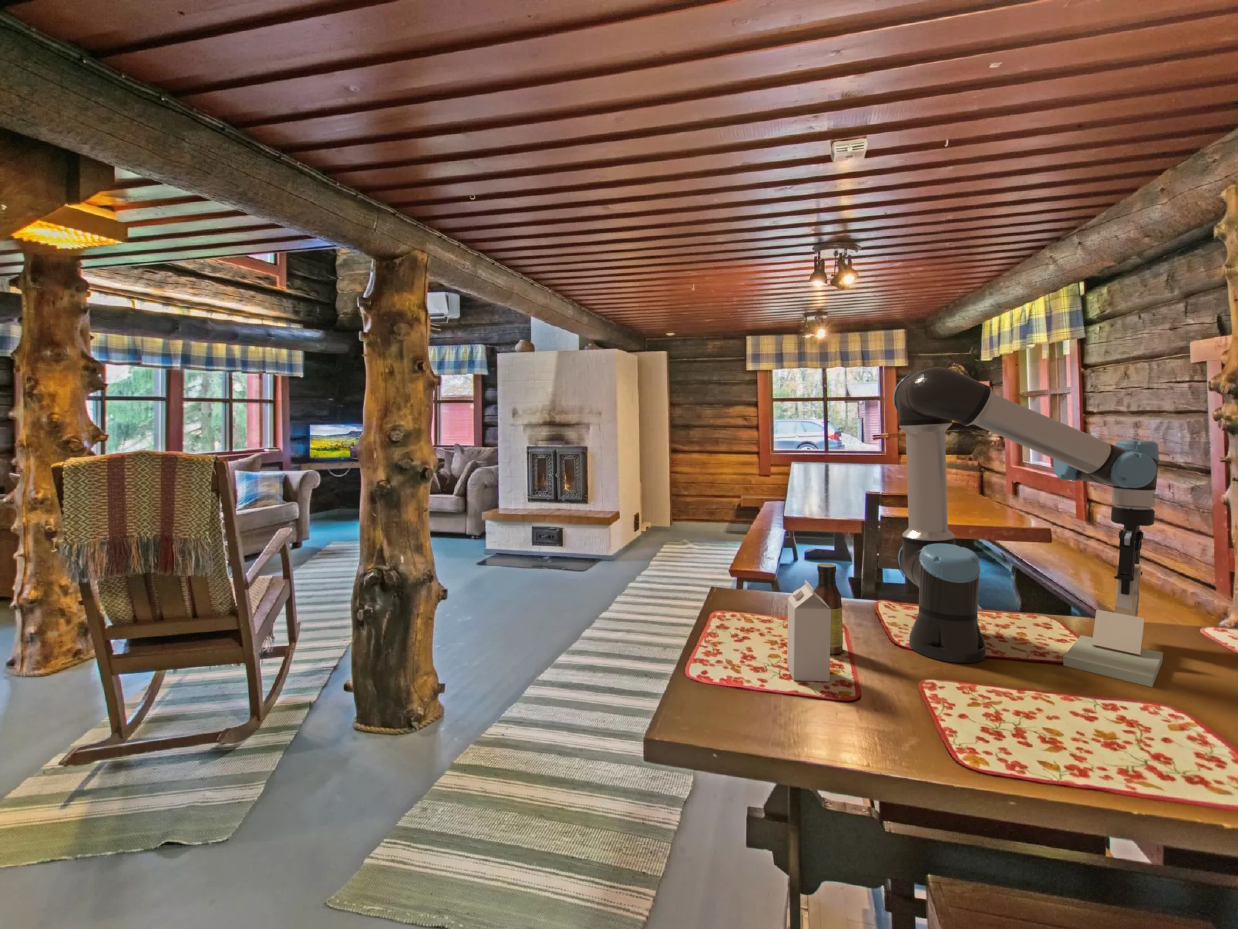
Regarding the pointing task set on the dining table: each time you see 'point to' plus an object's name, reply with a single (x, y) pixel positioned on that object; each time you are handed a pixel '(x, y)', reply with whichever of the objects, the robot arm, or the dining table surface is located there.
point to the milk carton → (808, 636)
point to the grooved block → (1114, 662)
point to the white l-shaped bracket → (1135, 597)
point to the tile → (1118, 632)
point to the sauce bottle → (831, 603)
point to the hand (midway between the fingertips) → (1126, 604)
